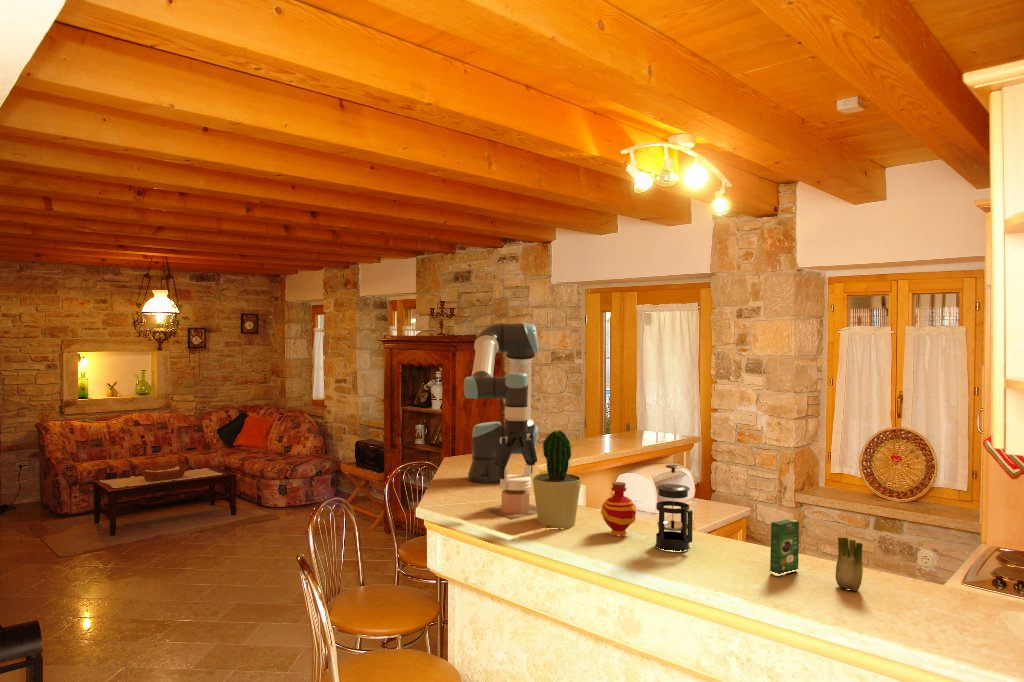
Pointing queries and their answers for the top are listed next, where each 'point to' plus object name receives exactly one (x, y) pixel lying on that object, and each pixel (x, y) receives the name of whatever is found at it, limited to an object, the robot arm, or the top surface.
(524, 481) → the cream flat cylinder
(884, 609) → the top surface
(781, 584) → the top surface
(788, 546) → the coffee box
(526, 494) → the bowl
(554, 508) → the potted cactus
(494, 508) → the board
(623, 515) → the potion bottle
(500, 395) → the robot arm
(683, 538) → the french press
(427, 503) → the top surface
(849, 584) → the fennel bulb
